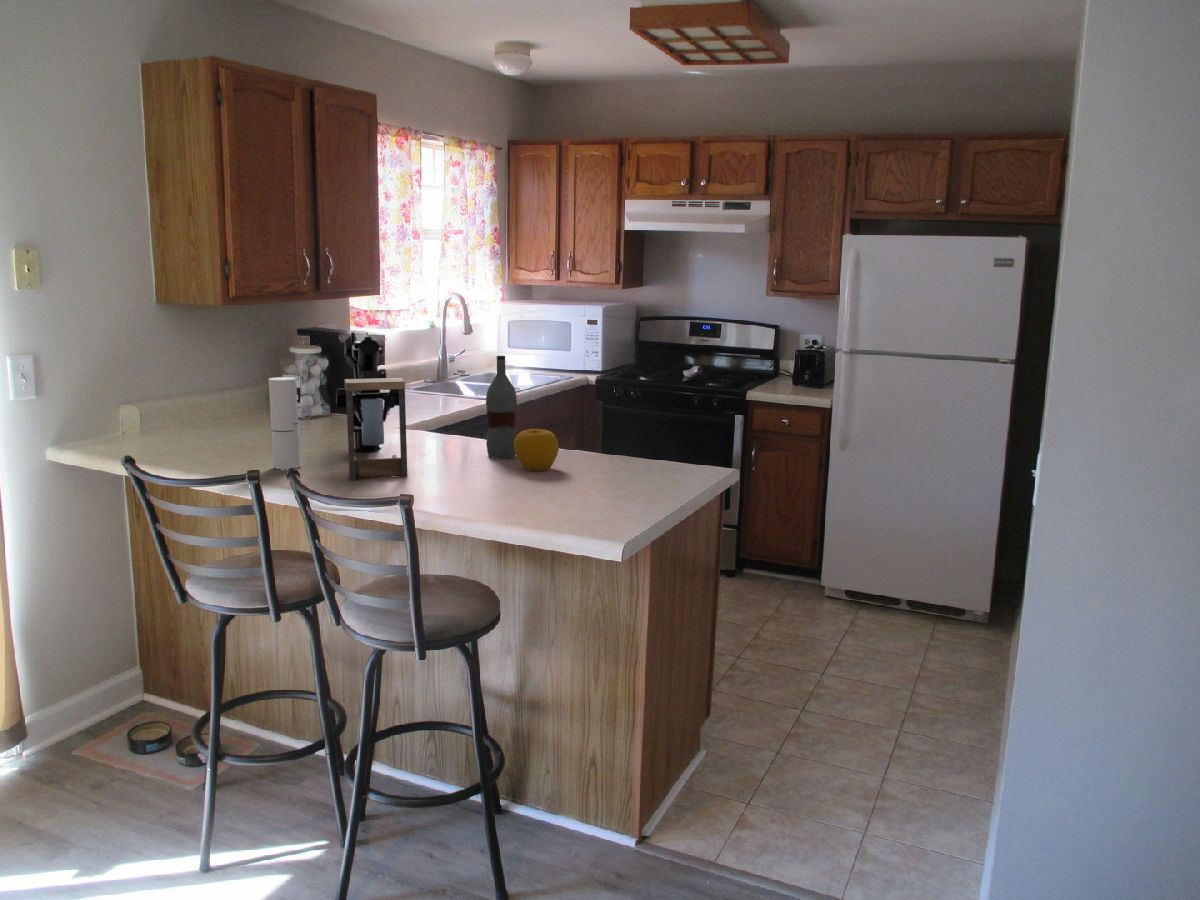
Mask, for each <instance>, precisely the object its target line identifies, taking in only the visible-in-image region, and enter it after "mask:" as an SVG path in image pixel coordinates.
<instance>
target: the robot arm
mask: <svg viewBox="0 0 1200 900" xmlns="http://www.w3.org/2000/svg"><path fill="white" fill-rule="evenodd" d="M343 349H344V358H346V360H347V365H348V366H349V367H350V368H351V369H353V377H354V378H353V379H377V378H387V371H386V369H385V368H379V369H378V364H379V359H380V356H381V354H383V349H382V348H381V347H380V344H379V343H378V342H377V341H376V340H374V339H372V336H369V332H368V331H366V330H353V331H350V335H349V337H348V338H346V339H345V340H344V348H343ZM352 397H353V422H354V447H355V452H360V453H361V452H362V453H372V452H376V451H379V450H381V449H382V447H380V445H363V444H362V415H361V399H364V398H381V399H383V420H384V422H386V420H387V417H388V414H389V412H390V410H391V409H394V408H395V406H396V407H399V389H389V392H381V390H352ZM335 403H336V407H337V408H338V409H339V408H340V409H341V408H347V403H346V389H345V387H344V388H337V389H336V392H335Z"/></svg>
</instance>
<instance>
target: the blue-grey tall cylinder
mask: <svg viewBox="0 0 1200 900" xmlns="http://www.w3.org/2000/svg"><path fill="white" fill-rule="evenodd" d="M383 414H384V400H383V399H381V398H364V399H361V415H362V444H363V445H379V446H381V445H384V444H385V429H384V427H385V425H384V420H383Z"/></svg>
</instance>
